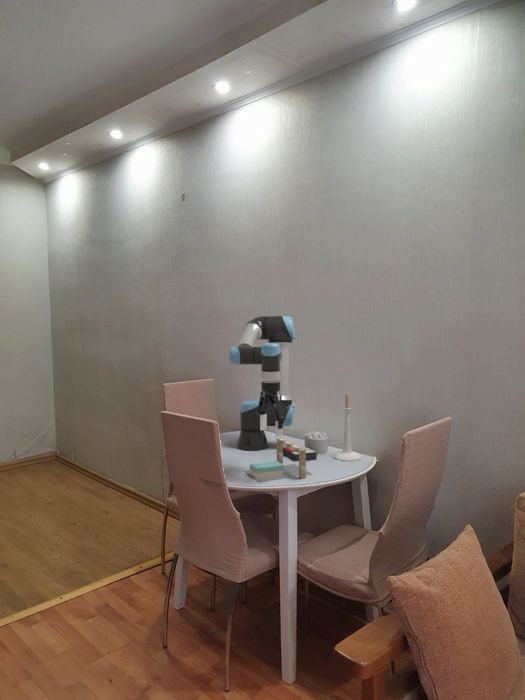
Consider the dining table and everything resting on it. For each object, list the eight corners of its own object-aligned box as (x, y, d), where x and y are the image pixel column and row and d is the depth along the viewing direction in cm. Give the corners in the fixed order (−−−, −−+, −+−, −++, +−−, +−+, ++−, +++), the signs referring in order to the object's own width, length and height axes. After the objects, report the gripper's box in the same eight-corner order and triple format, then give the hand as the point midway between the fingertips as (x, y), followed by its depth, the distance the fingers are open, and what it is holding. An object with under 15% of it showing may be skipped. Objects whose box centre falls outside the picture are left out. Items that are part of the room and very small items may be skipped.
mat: (243, 471, 220) (243, 471, 220) (294, 464, 229) (294, 463, 229) (258, 483, 205) (258, 482, 205) (312, 475, 215) (312, 474, 215)
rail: (276, 464, 230) (276, 438, 229) (280, 464, 230) (280, 437, 230) (301, 480, 209) (301, 450, 208) (305, 479, 209) (305, 450, 208)
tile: (249, 473, 216) (249, 464, 216) (276, 469, 221) (276, 460, 220) (256, 478, 209) (256, 468, 209) (283, 474, 214) (283, 465, 214)
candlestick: (333, 461, 234) (333, 394, 232) (333, 453, 247) (333, 390, 245) (362, 461, 233) (362, 395, 231) (360, 454, 245) (361, 390, 243)
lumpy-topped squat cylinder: (323, 447, 259) (323, 429, 258) (331, 454, 246) (331, 435, 246) (302, 448, 257) (302, 430, 257) (309, 455, 245) (309, 436, 244)
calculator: (302, 444, 251) (316, 450, 237) (302, 453, 251) (317, 460, 237) (281, 446, 247) (294, 453, 233) (281, 456, 247) (294, 462, 233)
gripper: (249, 378, 222) (249, 428, 223) (277, 385, 200) (277, 440, 201) (264, 377, 225) (265, 426, 227) (294, 384, 203) (294, 438, 205)
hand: (271, 433), depth 214 cm, fingers open, 13 cm apart
